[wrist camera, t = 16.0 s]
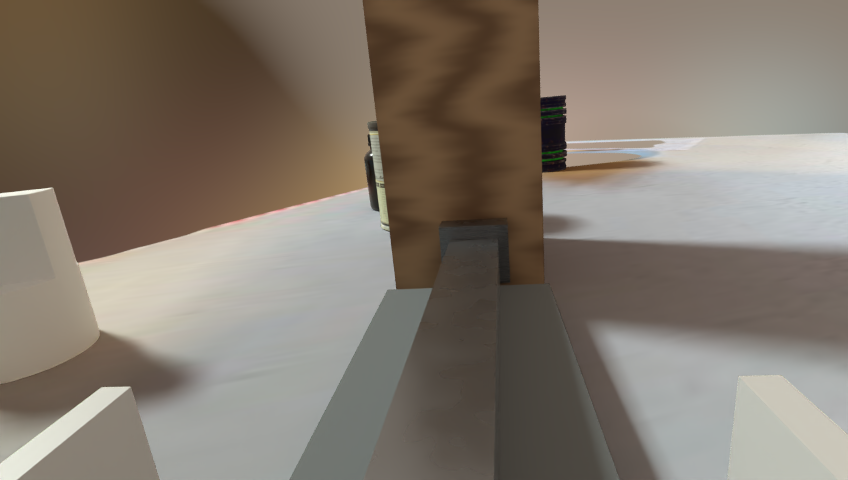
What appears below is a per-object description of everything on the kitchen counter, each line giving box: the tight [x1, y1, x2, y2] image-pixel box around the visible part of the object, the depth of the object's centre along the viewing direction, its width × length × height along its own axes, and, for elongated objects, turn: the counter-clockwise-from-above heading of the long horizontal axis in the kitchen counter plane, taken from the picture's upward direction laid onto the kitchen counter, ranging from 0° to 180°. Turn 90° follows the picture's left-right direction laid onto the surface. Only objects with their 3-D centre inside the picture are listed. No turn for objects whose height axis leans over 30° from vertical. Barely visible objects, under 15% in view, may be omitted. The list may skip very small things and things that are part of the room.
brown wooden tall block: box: [363, 0, 544, 289], centre depth 41 cm, size 12×16×33 cm
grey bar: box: [363, 218, 510, 480], centre depth 24 cm, size 5×26×4 cm, turn 171°
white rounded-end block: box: [0, 188, 100, 384], centre depth 33 cm, size 9×9×12 cm
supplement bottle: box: [364, 134, 380, 211], centre depth 74 cm, size 7×7×12 cm
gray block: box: [290, 284, 620, 480], centre depth 25 cm, size 12×20×2 cm, turn 173°
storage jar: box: [540, 96, 567, 172], centre depth 98 cm, size 10×10×15 cm
